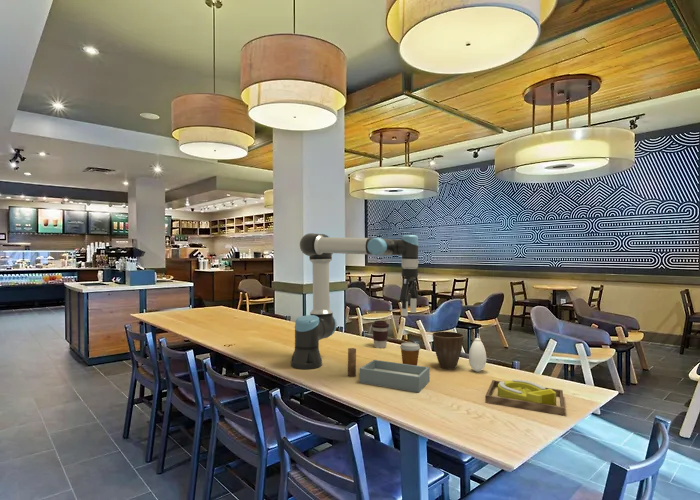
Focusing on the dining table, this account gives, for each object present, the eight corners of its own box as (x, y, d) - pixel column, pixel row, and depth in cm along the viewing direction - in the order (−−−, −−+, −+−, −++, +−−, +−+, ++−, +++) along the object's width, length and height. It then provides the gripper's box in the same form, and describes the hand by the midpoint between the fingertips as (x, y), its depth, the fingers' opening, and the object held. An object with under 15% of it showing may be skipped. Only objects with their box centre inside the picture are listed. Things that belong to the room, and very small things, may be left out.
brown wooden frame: (485, 402, 150) (485, 395, 150) (492, 386, 169) (492, 380, 169) (564, 415, 138) (564, 408, 139) (562, 396, 157) (562, 390, 157)
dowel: (346, 376, 180) (346, 349, 180) (349, 374, 183) (350, 347, 183) (353, 377, 178) (353, 350, 178) (357, 375, 181) (357, 348, 181)
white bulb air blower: (465, 371, 190) (466, 332, 190) (473, 367, 196) (473, 330, 196) (481, 374, 185) (482, 335, 185) (488, 371, 190) (489, 333, 191)
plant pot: (447, 373, 186) (448, 338, 186) (425, 365, 199) (425, 333, 199) (470, 368, 194) (470, 335, 194) (447, 361, 207) (447, 330, 207)
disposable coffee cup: (419, 373, 186) (419, 347, 186) (398, 371, 188) (399, 345, 188) (420, 367, 195) (420, 342, 195) (400, 366, 197) (400, 341, 197)
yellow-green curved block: (531, 411, 141) (531, 397, 141) (488, 392, 160) (488, 380, 160) (564, 405, 148) (564, 391, 148) (519, 387, 167) (519, 375, 167)
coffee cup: (389, 349, 233) (389, 323, 233) (372, 348, 233) (372, 322, 233) (387, 345, 243) (388, 320, 243) (371, 344, 243) (371, 319, 243)
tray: (359, 382, 171) (359, 368, 171) (373, 372, 185) (374, 359, 186) (418, 392, 160) (419, 377, 160) (429, 381, 174) (429, 367, 174)
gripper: (409, 269, 174) (408, 318, 174) (424, 267, 197) (424, 311, 197) (393, 268, 178) (392, 316, 178) (410, 267, 200) (409, 310, 200)
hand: (409, 314), depth 187 cm, fingers open, 13 cm apart
